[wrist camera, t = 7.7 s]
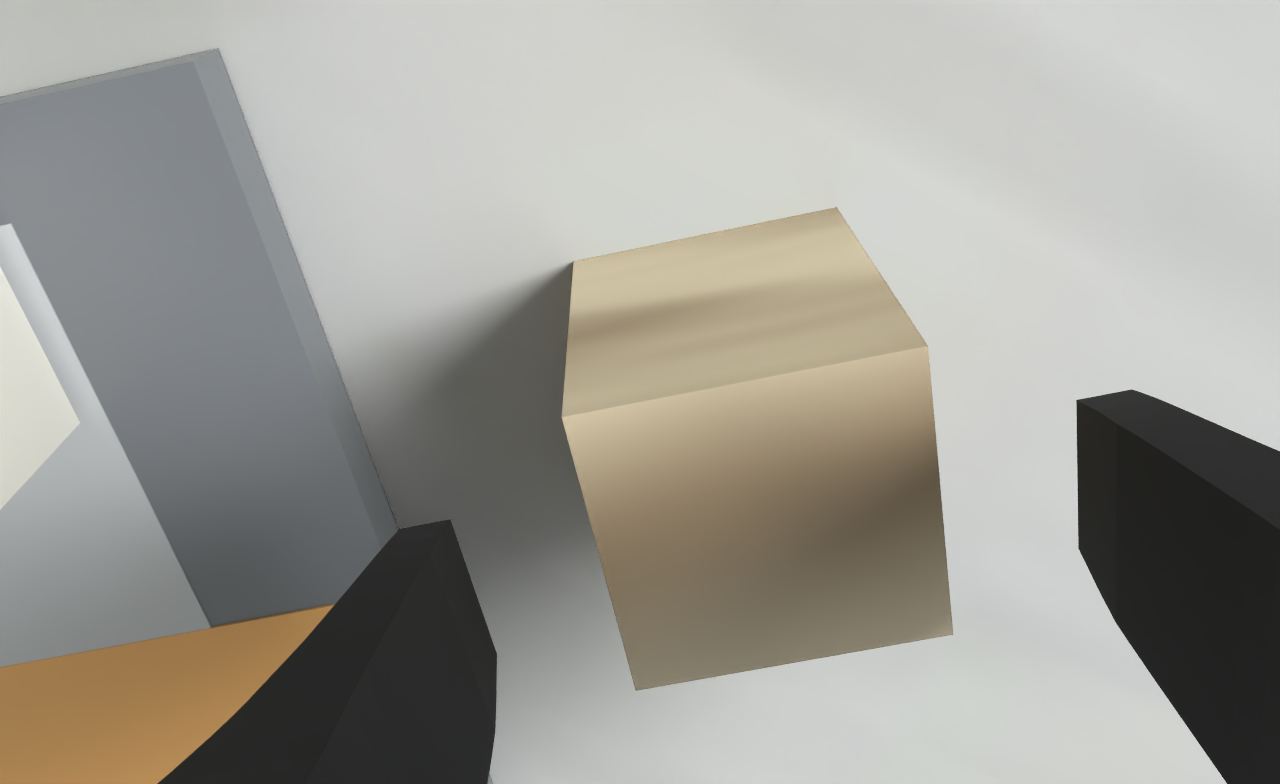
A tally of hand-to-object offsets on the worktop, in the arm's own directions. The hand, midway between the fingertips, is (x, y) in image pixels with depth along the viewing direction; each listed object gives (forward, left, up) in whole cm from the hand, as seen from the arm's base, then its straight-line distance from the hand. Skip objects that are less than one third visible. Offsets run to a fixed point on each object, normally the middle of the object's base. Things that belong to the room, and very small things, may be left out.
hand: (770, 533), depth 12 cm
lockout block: (0, 0, -5) cm, 5 cm away
